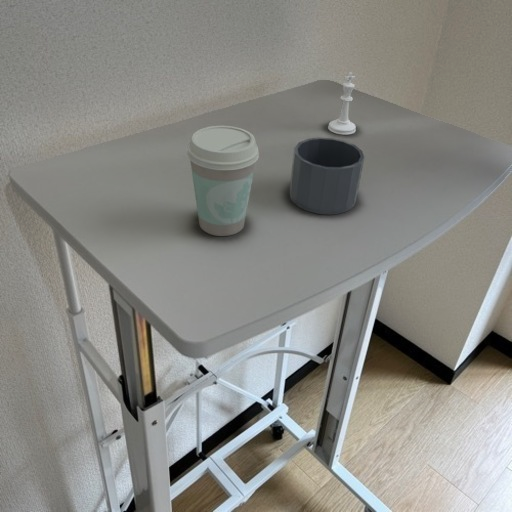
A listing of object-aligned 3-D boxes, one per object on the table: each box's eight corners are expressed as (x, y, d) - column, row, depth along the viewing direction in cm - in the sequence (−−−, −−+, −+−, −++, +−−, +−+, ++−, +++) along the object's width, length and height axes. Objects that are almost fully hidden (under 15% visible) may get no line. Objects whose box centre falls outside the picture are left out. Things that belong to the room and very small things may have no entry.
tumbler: (350, 182, 82) (358, 139, 78) (360, 216, 75) (369, 170, 71) (288, 179, 82) (292, 136, 78) (291, 213, 75) (296, 167, 70)
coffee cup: (193, 245, 67) (191, 156, 60) (185, 209, 74) (182, 125, 67) (261, 239, 69) (267, 152, 62) (247, 204, 76) (251, 122, 69)
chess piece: (324, 124, 99) (331, 68, 93) (349, 122, 100) (358, 67, 95) (333, 135, 96) (341, 78, 90) (359, 134, 97) (369, 77, 91)
